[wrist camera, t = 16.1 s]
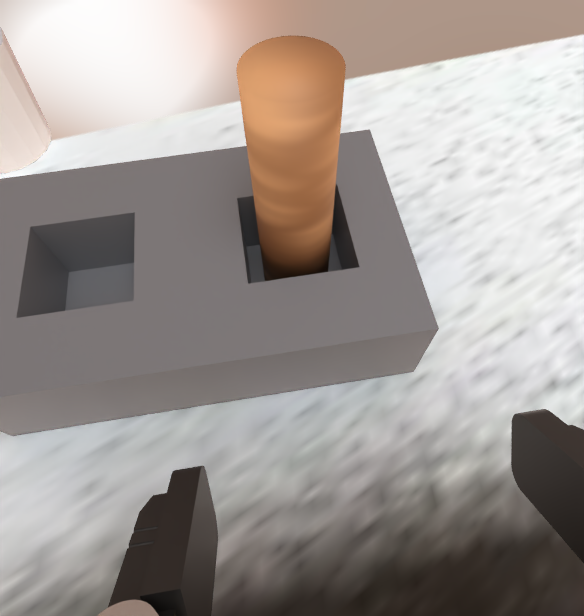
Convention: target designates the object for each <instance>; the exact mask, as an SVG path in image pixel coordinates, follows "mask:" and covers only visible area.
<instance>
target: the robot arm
mask: <svg viewBox="0 0 584 616" xmlns="http://www.w3.org/2000/svg"><path fill="white" fill-rule="evenodd" d="M511 465H512V472H513V475H514V478H515V481H516V483H517V485H518V487H519V488H520V490H521V491H522V492H523V493H524V495H525V496H526V497H527V498H528V499H529V500H530V502H531V503H532V504H533V505H534V506H535V507H536V508H537V510H538V511H539V512H540V513H541V514H542V515H543V517H544V518H545V519H546V520H547V521H548V522H549V524H550V525H551V526H552V527H553V528H554V529H555V530H556V532H557V533H558V534H559V535H560V536H561V537H562V539H563V540H564V541H565V542H566V543H567V544H568V545H569V547H570V548H571V549H572V550H573V551H574V552H575V554H576V555H577V556H578V557H579V558H580V559H581V560H582V562H583V563H584V430H583V429H580V428H578V427H576V426H573V425H569V426H568V425H567V424H565V423H564V422H563V421H562V420H560V419H559V418H558V417H556V416H555V415H554V414H553V413H551V412H550V411H548V410H546V409H541V410H536V411H530V412H524V413H518V414H515V415H514V416H513V418H512V456H511ZM217 543H218V532H217V521H216V515H215V511H214V506H213V501H212V497H211V492H210V488H209V483H208V479H207V474H206V471H205V468H204V466H198V467H193V468H187V469H181V470H175V471H173V473H172V475H171V479H170V483H169V487H168V491H167V493H165V494H159V495H153V496H152V498H151V499H150V500H149V501H148V502H147V504H146V505H145V506H144V507H143V509H142V510H141V511H140V512H139V515H138V518H137V521H136V524H135V527H134V533H133V534H132V537H131V540H130V543H129V549H127V552H126V555H125V558H124V561H123V564H122V567H121V570H120V573H119V576H118V579H117V582H116V585H115V588H114V591H113V594H112V597H111V600H110V603H109V606H108V608H107V609H105V610H104V611H102V612H101V613H100V614H98V615H97V616H211V611H212V600H213V588H214V577H215V566H216V555H217Z"/></svg>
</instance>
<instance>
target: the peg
mask: <svg viewBox="0 0 584 616" xmlns="http://www.w3.org/2000/svg"><path fill="white" fill-rule="evenodd" d="M237 78H238V85H239V92H240V100H241V107H242V115H243V122H244V130H245V137H246V144H247V152H248V159H249V167H250V174H251V181H252V189H253V196H254V204H255V211H256V218H257V226H258V233H259V240H260V248H261V255H262V263H263V270H264V277H265V281H270V280H277V279H283V278H290V277H297V276H304V275H310V274H317V273H324V272H328V268H329V256H330V244H331V233H332V221H333V209H334V198H335V186H336V174H337V163H338V151H339V139H340V128H341V116H342V104H343V92H344V81H345V61H344V59H343V57H342V55H341V54H340V53H339V52H338V51H337V50H336V49H335V48H334V47H333V46H331V45H329V44H328V43H325V42H323V41H321V40H318V39H315V38H310V37H305V36H281V37H276V38H271V39H268V40H265V41H262V42H260V43H258V44H256V45H254V46H252V47H251V48H250V49H248V50H247V51H246V52H245V53H244V54H243V55H242V56H241V58H240V60H239V62H238V64H237Z"/></svg>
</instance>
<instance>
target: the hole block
mask: <svg viewBox="0 0 584 616" xmlns="http://www.w3.org/2000/svg"><path fill="white" fill-rule="evenodd" d="M438 329H439V328H438V325H437V323H436V320H435V317H434V314H433V311H432V308H431V305H430V302H429V299H428V297H427V294H426V291H425V288H424V285H423V282H422V279H421V276H420V273H419V271H418V268H417V265H416V262H415V259H414V256H413V253H412V250H411V247H410V245H409V242H408V239H407V236H406V233H405V230H404V227H403V224H402V222H401V219H400V216H399V213H398V210H397V207H396V204H395V201H394V198H393V196H392V193H391V190H390V187H389V184H388V181H387V178H386V175H385V172H384V170H383V167H382V164H381V161H380V158H379V155H378V152H377V149H376V146H375V144H374V141H373V138H372V135H371V132H370V130H364V131H356V132H349V133H341V134H340V139H339V151H338V163H337V174H336V186H335V198H334V209H333V221H332V233H331V244H330V256H329V268H328V272H324V273H317V274H310V275H304V276H297V277H290V278H283V279H277V280H270V281H265V277H264V270H263V263H262V255H261V248H260V240H259V233H258V226H257V218H256V211H255V204H254V196H253V189H252V181H251V174H250V167H249V159H248V152H247V146H244V147H236V148H229V149H221V150H214V151H206V152H199V153H191V154H184V155H176V156H169V157H162V158H154V159H147V160H139V161H132V162H124V163H117V164H109V165H102V166H94V167H87V168H79V169H72V170H64V171H57V172H49V173H42V174H34V175H27V176H19V177H12V178H4V179H0V431H2V432H4V433H7V434H9V435H12V436H14V435H21V434H27V433H33V432H39V431H46V430H52V429H58V428H64V427H71V426H77V425H83V424H89V423H96V422H102V421H108V420H114V419H121V418H127V417H133V416H139V415H145V414H152V413H158V412H164V411H170V410H177V409H183V408H189V407H195V406H202V405H208V404H214V403H220V402H227V401H233V400H239V399H245V398H252V397H258V396H264V395H270V394H277V393H283V392H289V391H295V390H302V389H308V388H314V387H320V386H327V385H333V384H339V383H345V382H351V381H358V380H364V379H370V378H376V377H383V376H389V375H395V374H401V373H408V372H413V371H414V370H415V368H416V366H417V365H418V363H419V361H420V360H421V358H422V356H423V354H424V353H425V351H426V349H427V348H428V346H429V344H430V343H431V341H432V339H433V337H434V336H435V334H436V332H437V331H438Z"/></svg>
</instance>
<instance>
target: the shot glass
mask: <svg viewBox="0 0 584 616" xmlns="http://www.w3.org/2000/svg"><path fill="white" fill-rule="evenodd" d="M50 142H51V132H50V128H49V126H48V124H47V122H46V120H45V118H44V116H43V114H42V112H41V110H40V107H39V105H38V104H37V101H36V99H35V97H34V95H33V93H32V91H31V89H30V87H29V85H28V83H27V81H26V79H25V76H24V74H23V72H22V70H21V68H20V66H19V64H18V62H17V60H16V58H15V56H14V54H13V51H12V50H11V47H10V45H9V43H8V41H7V39H6V37H5V35H4V33H3V31H2V29H1V28H0V173H8V172H12V171H16V170H20V169H23V168H24V167H26V166H28V165H30V164H32V163H33V162H35V161H37V160H38V159H39V158H40V157H41V156H42V155H43V154H44V153H45V152H46V151H47V149H48V146H49V144H50Z"/></svg>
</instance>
